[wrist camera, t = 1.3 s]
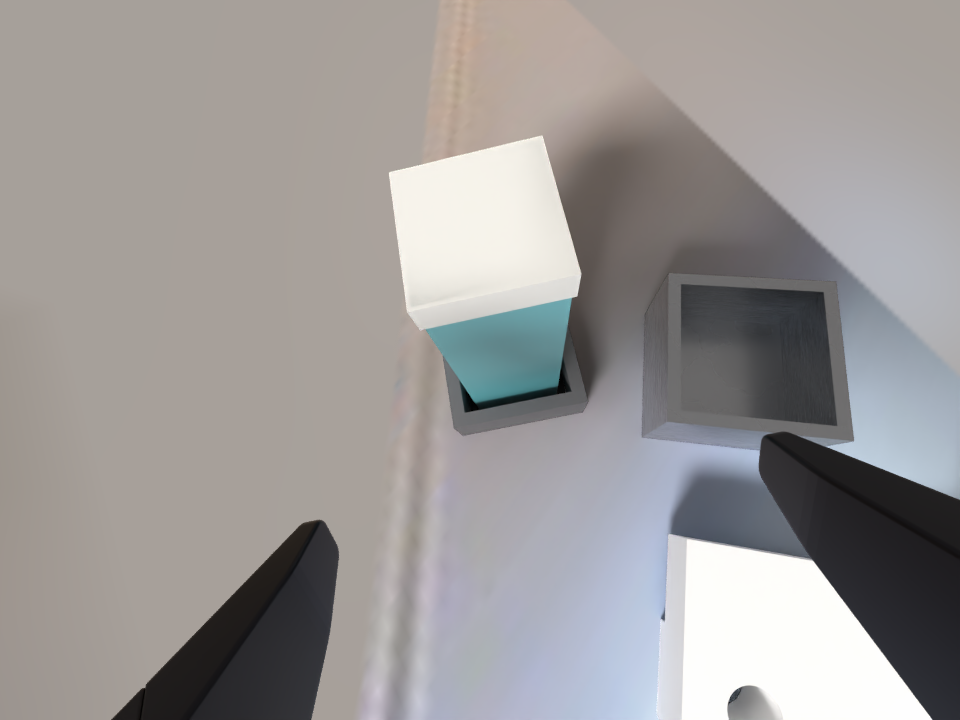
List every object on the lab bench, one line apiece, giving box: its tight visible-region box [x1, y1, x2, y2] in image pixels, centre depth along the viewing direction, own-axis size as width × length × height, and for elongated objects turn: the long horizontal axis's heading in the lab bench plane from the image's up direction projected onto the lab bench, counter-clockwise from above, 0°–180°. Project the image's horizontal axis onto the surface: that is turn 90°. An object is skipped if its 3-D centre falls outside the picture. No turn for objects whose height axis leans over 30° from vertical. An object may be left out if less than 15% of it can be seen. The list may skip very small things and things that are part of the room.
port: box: [642, 273, 854, 450], centre depth 20 cm, size 6×6×4 cm
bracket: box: [657, 534, 932, 720], centre depth 15 cm, size 13×7×8 cm, turn 81°
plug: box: [389, 136, 581, 410], centre depth 17 cm, size 4×4×13 cm
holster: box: [443, 325, 588, 436], centre depth 22 cm, size 6×6×2 cm
